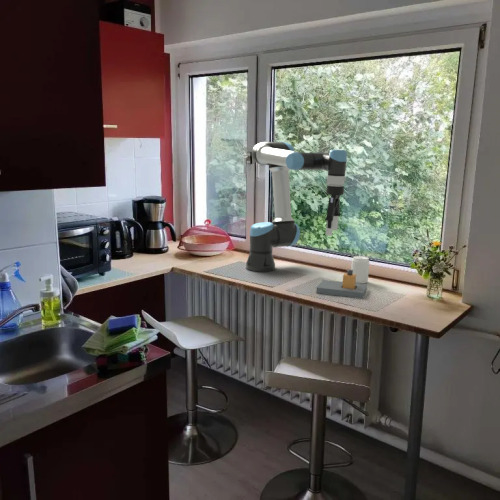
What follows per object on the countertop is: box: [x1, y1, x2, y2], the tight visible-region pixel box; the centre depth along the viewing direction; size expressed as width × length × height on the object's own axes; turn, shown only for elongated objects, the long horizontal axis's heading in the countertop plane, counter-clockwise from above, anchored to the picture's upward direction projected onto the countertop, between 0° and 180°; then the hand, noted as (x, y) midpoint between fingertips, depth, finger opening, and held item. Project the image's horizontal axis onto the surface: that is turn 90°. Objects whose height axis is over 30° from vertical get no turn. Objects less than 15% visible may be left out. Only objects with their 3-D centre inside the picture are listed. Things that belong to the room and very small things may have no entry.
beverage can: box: [350, 255, 370, 284], centre depth 235 cm, size 8×8×12 cm
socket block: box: [315, 279, 368, 299], centre depth 220 cm, size 20×14×2 cm
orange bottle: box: [342, 269, 356, 289], centre depth 218 cm, size 5×4×10 cm
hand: (331, 232), depth 225 cm, fingers open, 13 cm apart
